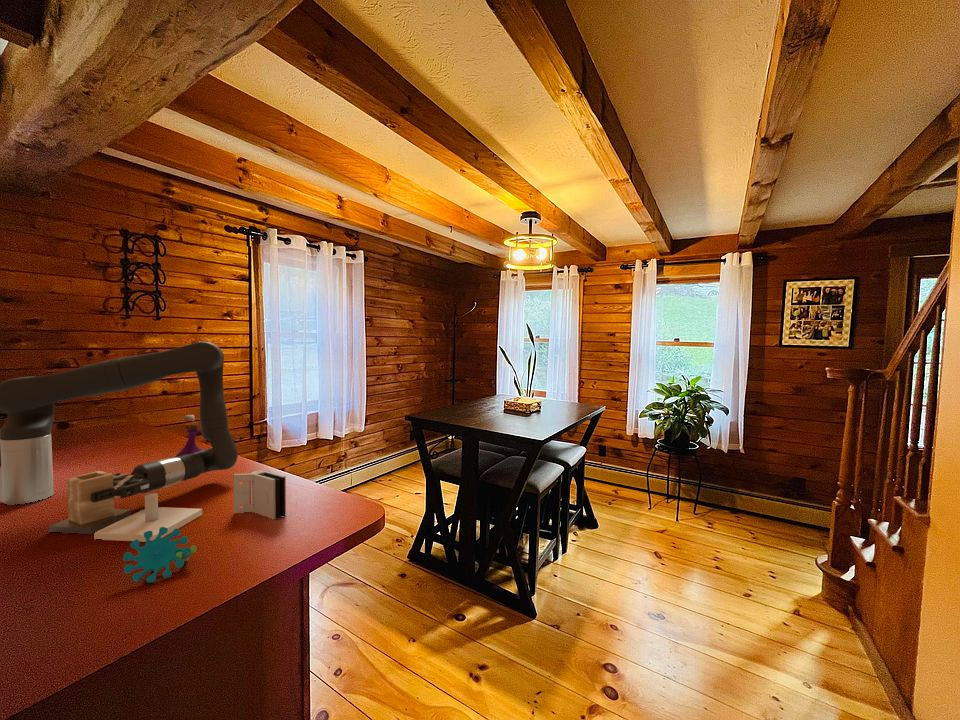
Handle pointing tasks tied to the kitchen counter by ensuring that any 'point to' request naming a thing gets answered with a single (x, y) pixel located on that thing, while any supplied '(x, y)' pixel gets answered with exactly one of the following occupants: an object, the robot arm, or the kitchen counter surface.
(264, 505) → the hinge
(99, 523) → the stand
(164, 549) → the gear
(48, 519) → the kitchen counter surface
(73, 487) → the sleeve
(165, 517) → the board
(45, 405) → the robot arm
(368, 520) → the kitchen counter surface
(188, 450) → the perfume bottle
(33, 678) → the kitchen counter surface
